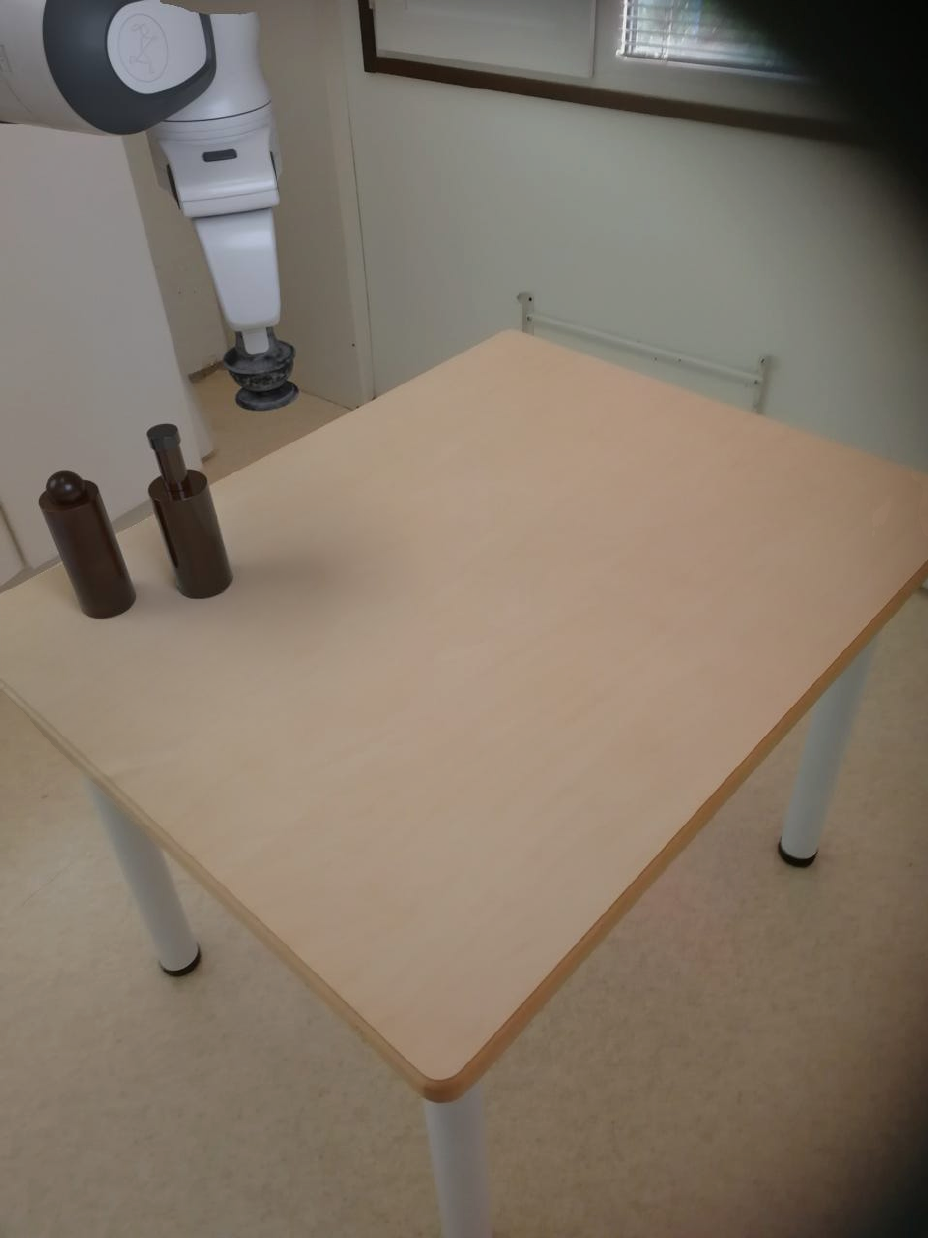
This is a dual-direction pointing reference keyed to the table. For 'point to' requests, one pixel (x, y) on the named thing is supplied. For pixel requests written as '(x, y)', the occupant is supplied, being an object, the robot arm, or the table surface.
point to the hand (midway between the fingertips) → (254, 337)
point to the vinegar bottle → (187, 519)
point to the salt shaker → (262, 374)
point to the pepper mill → (87, 545)
